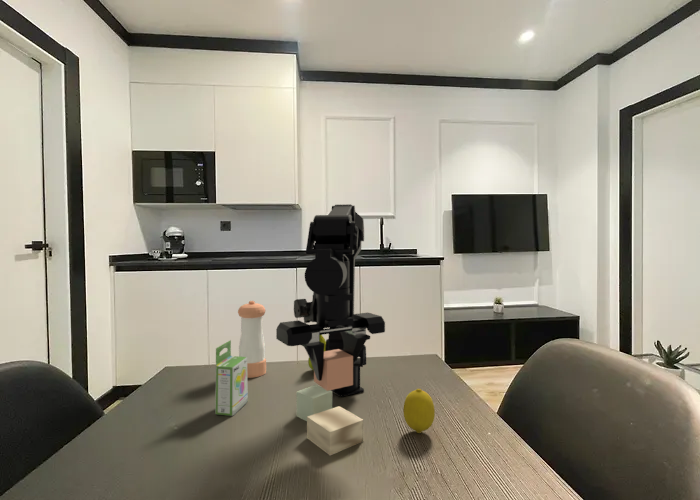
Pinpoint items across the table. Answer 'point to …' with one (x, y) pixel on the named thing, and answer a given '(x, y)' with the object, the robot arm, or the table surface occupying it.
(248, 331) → the pepper shaker
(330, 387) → the terracotta cube
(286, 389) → the table surface
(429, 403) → the lemon
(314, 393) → the sage cube
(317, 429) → the maple base
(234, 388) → the ink box
